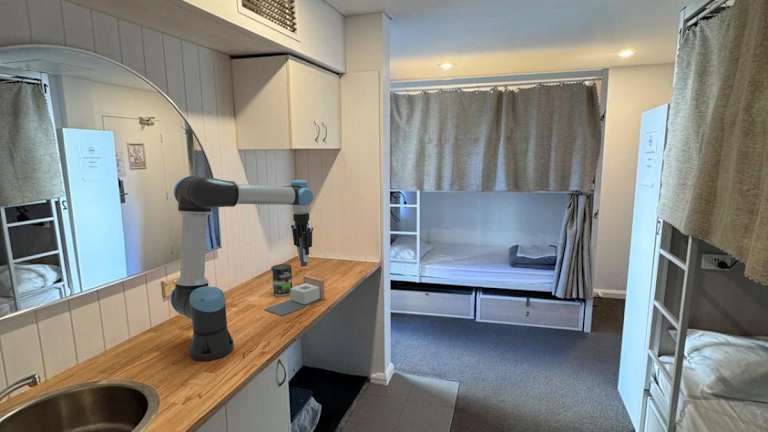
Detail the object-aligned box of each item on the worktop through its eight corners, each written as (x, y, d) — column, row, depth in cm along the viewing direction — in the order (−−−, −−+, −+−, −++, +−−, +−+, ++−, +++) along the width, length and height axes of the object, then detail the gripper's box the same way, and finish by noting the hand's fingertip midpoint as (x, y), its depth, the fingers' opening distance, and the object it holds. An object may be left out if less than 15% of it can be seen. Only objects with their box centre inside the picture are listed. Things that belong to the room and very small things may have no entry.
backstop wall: (321, 300, 203) (320, 280, 201) (304, 294, 211) (303, 276, 209) (324, 299, 204) (323, 279, 203) (307, 293, 212) (306, 275, 211)
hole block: (304, 304, 195) (303, 292, 194) (291, 300, 202) (290, 288, 201) (320, 298, 203) (319, 286, 202) (306, 294, 209) (306, 283, 208)
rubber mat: (281, 316, 184) (281, 315, 184) (264, 309, 192) (264, 309, 192) (324, 299, 204) (324, 298, 204) (307, 293, 212) (307, 293, 212)
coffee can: (296, 292, 214) (295, 266, 212) (278, 297, 208) (276, 270, 205) (287, 288, 222) (285, 262, 220) (269, 292, 215) (267, 266, 213)
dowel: (303, 266, 197) (302, 238, 195) (299, 265, 199) (297, 237, 197) (308, 265, 200) (307, 237, 198) (304, 264, 202) (302, 236, 200)
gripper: (318, 213, 193) (320, 261, 197) (296, 210, 203) (298, 256, 207) (306, 215, 187) (309, 265, 191) (283, 212, 197) (286, 259, 201)
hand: (303, 260), depth 199 cm, fingers closed on dowel, 3 cm apart
